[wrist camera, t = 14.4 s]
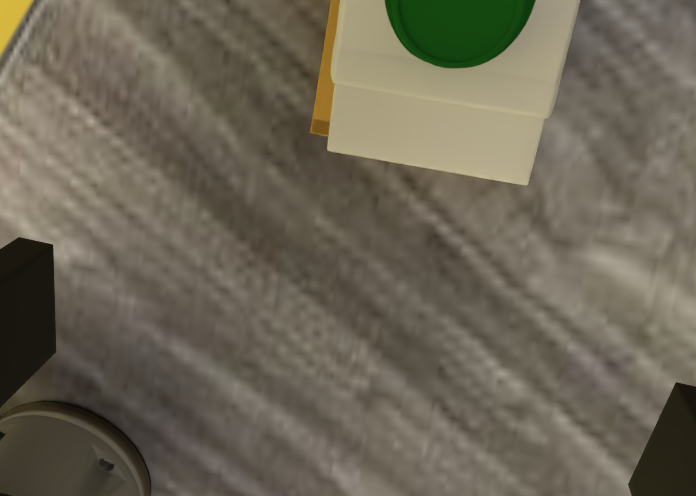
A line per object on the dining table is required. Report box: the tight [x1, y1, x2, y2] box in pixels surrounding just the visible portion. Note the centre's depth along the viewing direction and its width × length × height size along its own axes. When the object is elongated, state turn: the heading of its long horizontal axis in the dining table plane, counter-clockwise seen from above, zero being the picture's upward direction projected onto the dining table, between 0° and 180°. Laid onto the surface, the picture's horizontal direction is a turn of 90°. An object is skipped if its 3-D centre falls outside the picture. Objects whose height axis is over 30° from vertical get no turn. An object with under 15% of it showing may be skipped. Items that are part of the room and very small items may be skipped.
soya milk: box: [327, 0, 580, 185], centre depth 29 cm, size 9×9×20 cm
